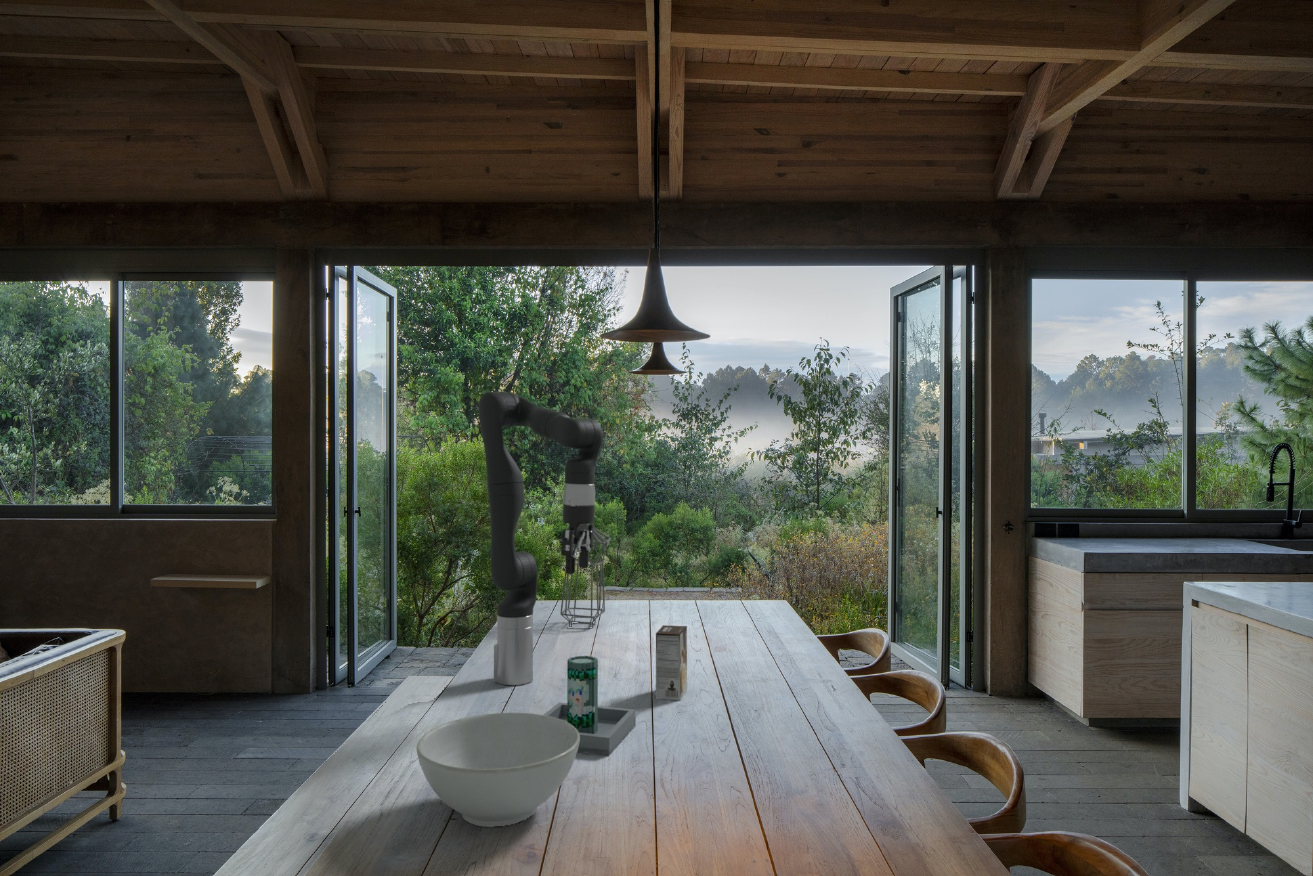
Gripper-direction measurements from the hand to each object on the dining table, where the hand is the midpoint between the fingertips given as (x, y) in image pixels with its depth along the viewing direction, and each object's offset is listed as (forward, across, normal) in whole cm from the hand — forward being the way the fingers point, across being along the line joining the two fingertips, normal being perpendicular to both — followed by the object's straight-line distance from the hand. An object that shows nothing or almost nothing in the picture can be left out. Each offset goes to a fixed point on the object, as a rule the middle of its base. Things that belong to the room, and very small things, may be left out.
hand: (577, 570), depth 195 cm
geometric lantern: (+33, -78, -27) cm, 89 cm away
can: (+30, +20, +10) cm, 38 cm away
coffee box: (+31, -13, +21) cm, 40 cm away
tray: (+31, +20, +10) cm, 38 cm away
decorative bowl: (+31, +57, +10) cm, 66 cm away
